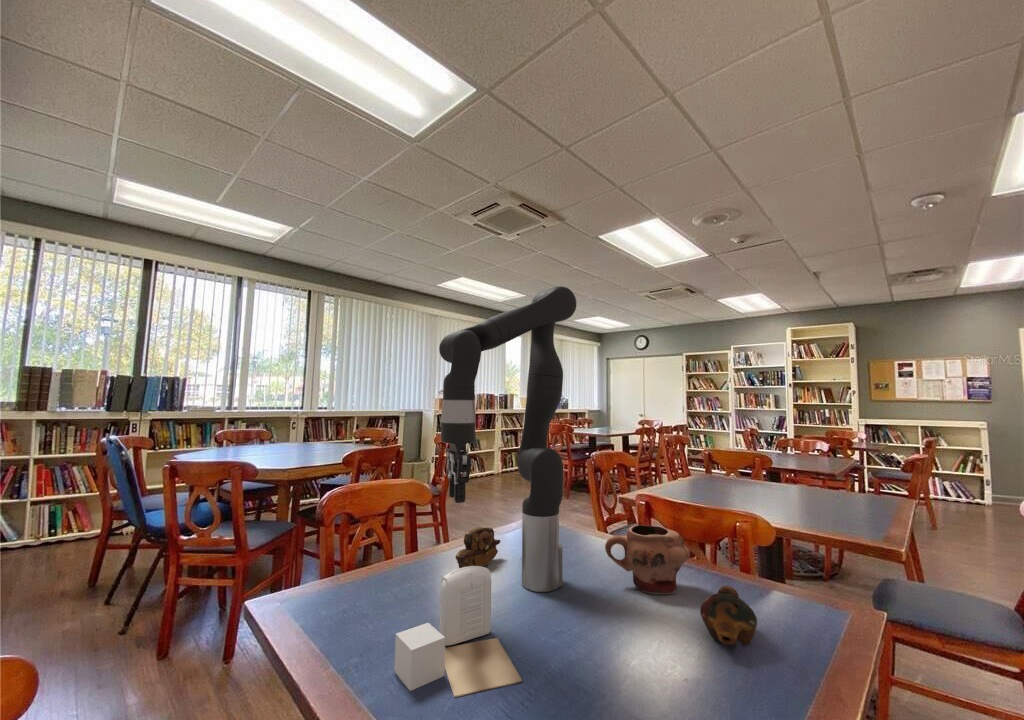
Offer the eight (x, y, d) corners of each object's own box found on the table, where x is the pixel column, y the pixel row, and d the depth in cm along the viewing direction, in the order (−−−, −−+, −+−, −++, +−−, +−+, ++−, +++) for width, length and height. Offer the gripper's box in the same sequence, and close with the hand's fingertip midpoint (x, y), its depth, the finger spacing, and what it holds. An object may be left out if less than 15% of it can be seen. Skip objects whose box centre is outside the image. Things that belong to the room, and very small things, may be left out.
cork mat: (497, 639, 79) (497, 637, 79) (522, 681, 67) (522, 680, 67) (438, 650, 76) (438, 648, 76) (454, 697, 63) (454, 696, 63)
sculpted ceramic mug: (611, 598, 96) (610, 535, 98) (601, 576, 108) (600, 521, 110) (699, 600, 96) (697, 536, 97) (679, 578, 108) (678, 522, 110)
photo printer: (483, 624, 84) (483, 559, 86) (494, 633, 81) (494, 565, 83) (435, 639, 79) (436, 569, 80) (445, 650, 75) (446, 576, 77)
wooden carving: (467, 578, 107) (468, 537, 108) (453, 575, 109) (454, 534, 110) (503, 559, 120) (503, 522, 121) (490, 555, 123) (490, 520, 124)
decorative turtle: (753, 626, 85) (751, 584, 85) (764, 669, 71) (761, 619, 72) (701, 616, 89) (699, 576, 89) (701, 655, 75) (699, 607, 76)
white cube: (394, 672, 69) (395, 633, 70) (427, 659, 73) (428, 622, 74) (410, 691, 65) (411, 650, 65) (444, 676, 68) (445, 637, 69)
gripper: (483, 422, 88) (482, 505, 86) (467, 419, 101) (465, 492, 100) (448, 422, 85) (446, 508, 84) (435, 419, 99) (434, 494, 97)
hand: (456, 499), depth 92 cm, fingers open, 5 cm apart
